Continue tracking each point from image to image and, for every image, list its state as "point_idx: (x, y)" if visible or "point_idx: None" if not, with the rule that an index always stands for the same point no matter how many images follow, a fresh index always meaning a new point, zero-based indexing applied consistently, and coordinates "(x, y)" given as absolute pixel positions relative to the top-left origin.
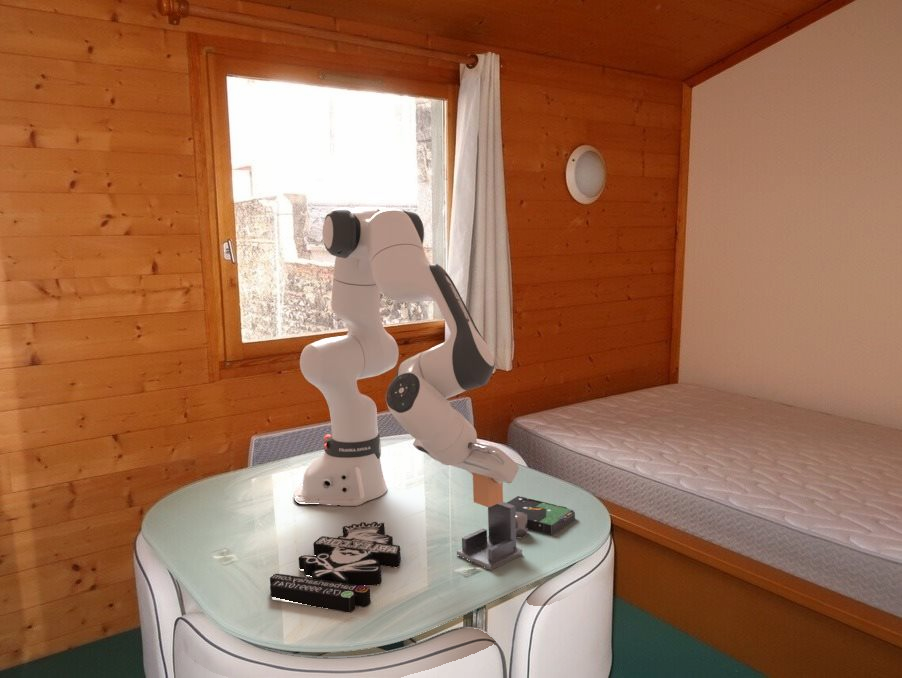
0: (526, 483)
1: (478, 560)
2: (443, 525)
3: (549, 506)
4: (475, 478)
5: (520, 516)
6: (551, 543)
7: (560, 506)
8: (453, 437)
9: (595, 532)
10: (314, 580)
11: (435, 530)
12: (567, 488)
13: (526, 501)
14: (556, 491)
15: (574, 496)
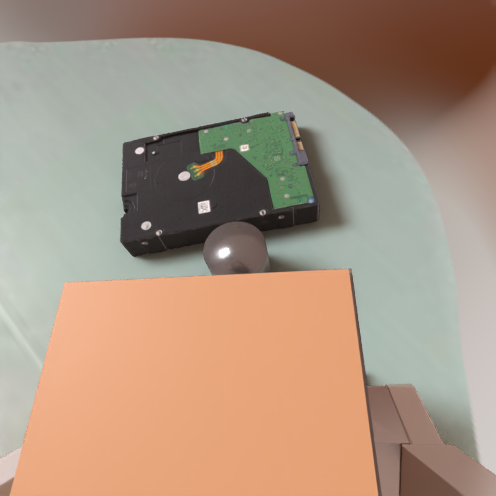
0: (83, 81)
1: None
2: (26, 388)
3: (229, 133)
4: None
5: (245, 246)
6: (355, 255)
7: (251, 117)
8: None
9: (383, 143)
10: None
11: (21, 436)
12: (174, 47)
13: (158, 148)
14: (164, 68)
15: (212, 60)
